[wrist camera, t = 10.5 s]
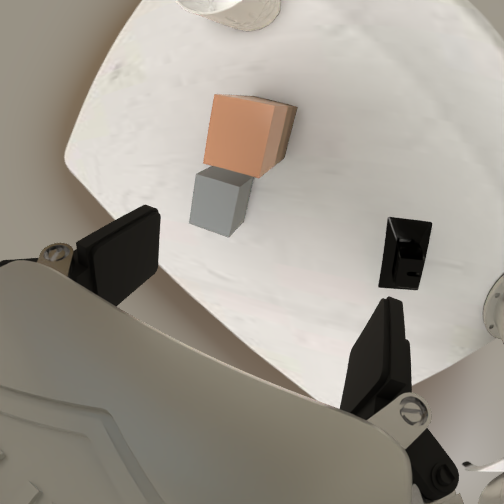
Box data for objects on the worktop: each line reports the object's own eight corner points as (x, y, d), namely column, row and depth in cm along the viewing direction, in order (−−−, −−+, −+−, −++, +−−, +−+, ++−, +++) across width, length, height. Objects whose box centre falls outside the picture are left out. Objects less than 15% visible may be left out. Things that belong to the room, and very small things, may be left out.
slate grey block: (254, 175, 34) (239, 187, 30) (244, 221, 37) (228, 237, 33) (215, 164, 35) (196, 173, 31) (207, 208, 38) (189, 223, 34)
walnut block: (297, 107, 29) (288, 107, 25) (284, 158, 32) (273, 166, 28) (253, 96, 30) (237, 95, 25) (242, 146, 33) (225, 153, 29)
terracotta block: (288, 105, 25) (275, 105, 20) (274, 166, 28) (259, 178, 24) (236, 95, 25) (214, 94, 21) (226, 153, 29) (203, 163, 24)
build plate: (420, 298, 35) (424, 320, 31) (368, 294, 37) (368, 316, 33) (439, 208, 29) (450, 223, 25) (380, 202, 31) (384, 216, 27)
